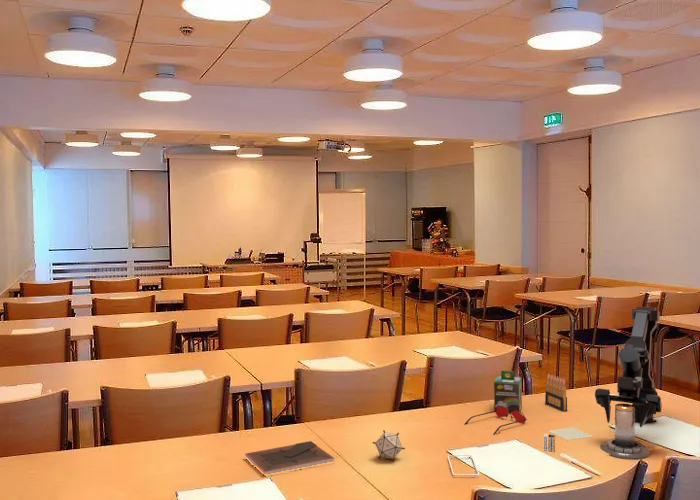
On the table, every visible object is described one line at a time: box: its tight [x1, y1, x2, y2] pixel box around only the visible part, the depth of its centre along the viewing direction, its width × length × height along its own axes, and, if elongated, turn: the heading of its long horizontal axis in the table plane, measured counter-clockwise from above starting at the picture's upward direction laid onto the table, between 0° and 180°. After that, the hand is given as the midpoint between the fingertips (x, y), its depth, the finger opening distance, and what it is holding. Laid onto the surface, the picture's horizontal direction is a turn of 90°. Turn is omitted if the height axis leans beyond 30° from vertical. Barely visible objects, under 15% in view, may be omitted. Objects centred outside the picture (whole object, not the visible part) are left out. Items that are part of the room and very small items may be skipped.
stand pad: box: [548, 427, 594, 441], centre depth 225 cm, size 10×10×1 cm
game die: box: [371, 429, 406, 462], centre depth 205 cm, size 9×8×10 cm
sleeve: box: [614, 402, 636, 448], centre depth 209 cm, size 6×6×13 cm
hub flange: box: [599, 437, 651, 460], centre depth 210 cm, size 14×14×2 cm
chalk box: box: [493, 370, 523, 414], centre depth 253 cm, size 9×9×15 cm
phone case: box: [447, 454, 480, 477], centre depth 198 cm, size 7×1×15 cm
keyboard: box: [542, 433, 556, 453], centre depth 216 cm, size 17×6×2 cm, turn 164°
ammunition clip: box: [544, 372, 568, 413], centre depth 256 cm, size 11×2×12 cm, turn 21°
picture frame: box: [244, 440, 335, 474], centre depth 204 cm, size 16×2×22 cm
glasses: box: [463, 405, 528, 436], centre depth 236 cm, size 14×16×5 cm
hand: (624, 424), depth 208 cm, fingers open, 9 cm apart
